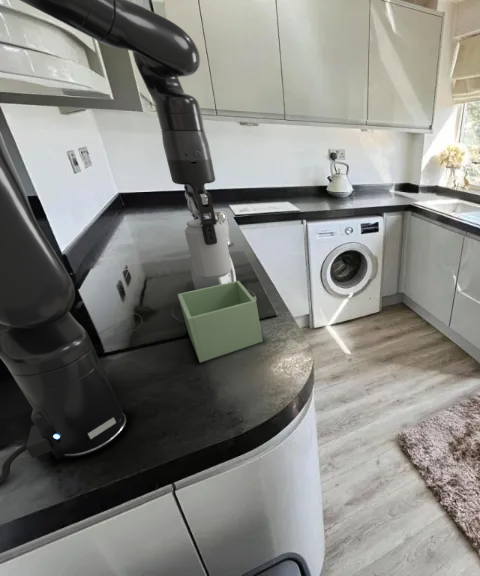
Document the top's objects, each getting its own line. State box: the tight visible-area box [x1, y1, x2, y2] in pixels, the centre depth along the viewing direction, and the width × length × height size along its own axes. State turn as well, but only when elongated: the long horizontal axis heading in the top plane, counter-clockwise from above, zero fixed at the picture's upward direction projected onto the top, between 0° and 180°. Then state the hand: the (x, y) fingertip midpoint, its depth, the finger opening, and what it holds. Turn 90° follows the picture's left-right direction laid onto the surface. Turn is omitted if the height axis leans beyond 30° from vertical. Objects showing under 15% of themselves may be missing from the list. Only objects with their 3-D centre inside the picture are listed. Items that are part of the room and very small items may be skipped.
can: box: [184, 217, 232, 279], centre depth 70 cm, size 8×8×12 cm
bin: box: [177, 280, 264, 363], centre depth 81 cm, size 15×15×12 cm
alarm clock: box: [190, 247, 237, 290], centre depth 97 cm, size 16×9×22 cm, turn 12°
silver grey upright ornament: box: [214, 210, 232, 247], centre depth 146 cm, size 7×7×15 cm
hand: (207, 238), depth 69 cm, fingers closed on can, 7 cm apart
